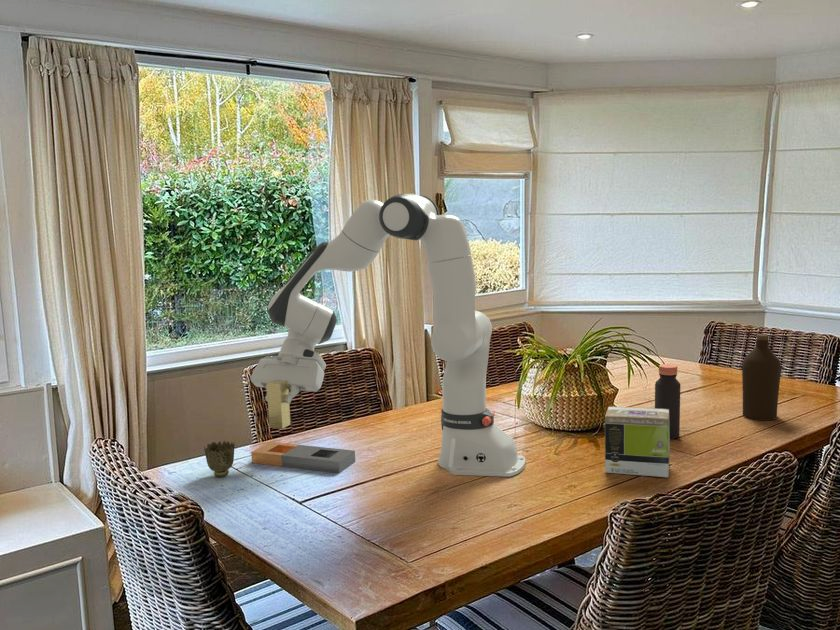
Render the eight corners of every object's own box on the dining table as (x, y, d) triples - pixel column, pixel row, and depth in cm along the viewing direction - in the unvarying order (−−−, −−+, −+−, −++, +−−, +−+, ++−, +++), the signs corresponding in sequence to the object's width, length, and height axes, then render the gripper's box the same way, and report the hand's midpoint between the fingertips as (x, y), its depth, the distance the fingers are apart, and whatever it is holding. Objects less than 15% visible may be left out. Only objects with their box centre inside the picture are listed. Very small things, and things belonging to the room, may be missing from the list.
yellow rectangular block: (290, 424, 202) (288, 380, 200) (282, 428, 198) (280, 384, 196) (277, 423, 203) (275, 379, 202) (269, 427, 200) (266, 383, 198)
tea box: (669, 465, 190) (670, 407, 188) (668, 479, 180) (669, 419, 178) (607, 460, 195) (608, 404, 192) (603, 473, 185) (604, 415, 183)
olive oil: (755, 422, 222) (758, 338, 219) (733, 413, 233) (735, 333, 229) (786, 419, 225) (790, 336, 221) (763, 410, 235) (766, 330, 231)
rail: (355, 461, 199) (354, 450, 199) (339, 473, 191) (338, 461, 190) (270, 452, 209) (270, 441, 208) (251, 462, 200) (251, 452, 200)
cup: (228, 481, 187) (226, 450, 186) (200, 480, 189) (198, 449, 187) (241, 471, 194) (239, 441, 193) (214, 469, 196) (212, 440, 195)
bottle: (667, 430, 218) (668, 362, 215) (684, 436, 212) (686, 366, 209) (648, 434, 215) (650, 365, 212) (666, 440, 209) (667, 369, 206)
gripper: (257, 349, 208) (238, 392, 201) (323, 353, 201) (306, 398, 193) (267, 361, 213) (249, 404, 205) (331, 365, 205) (315, 410, 198)
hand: (277, 401), depth 199 cm, fingers closed on yellow rectangular block, 4 cm apart
